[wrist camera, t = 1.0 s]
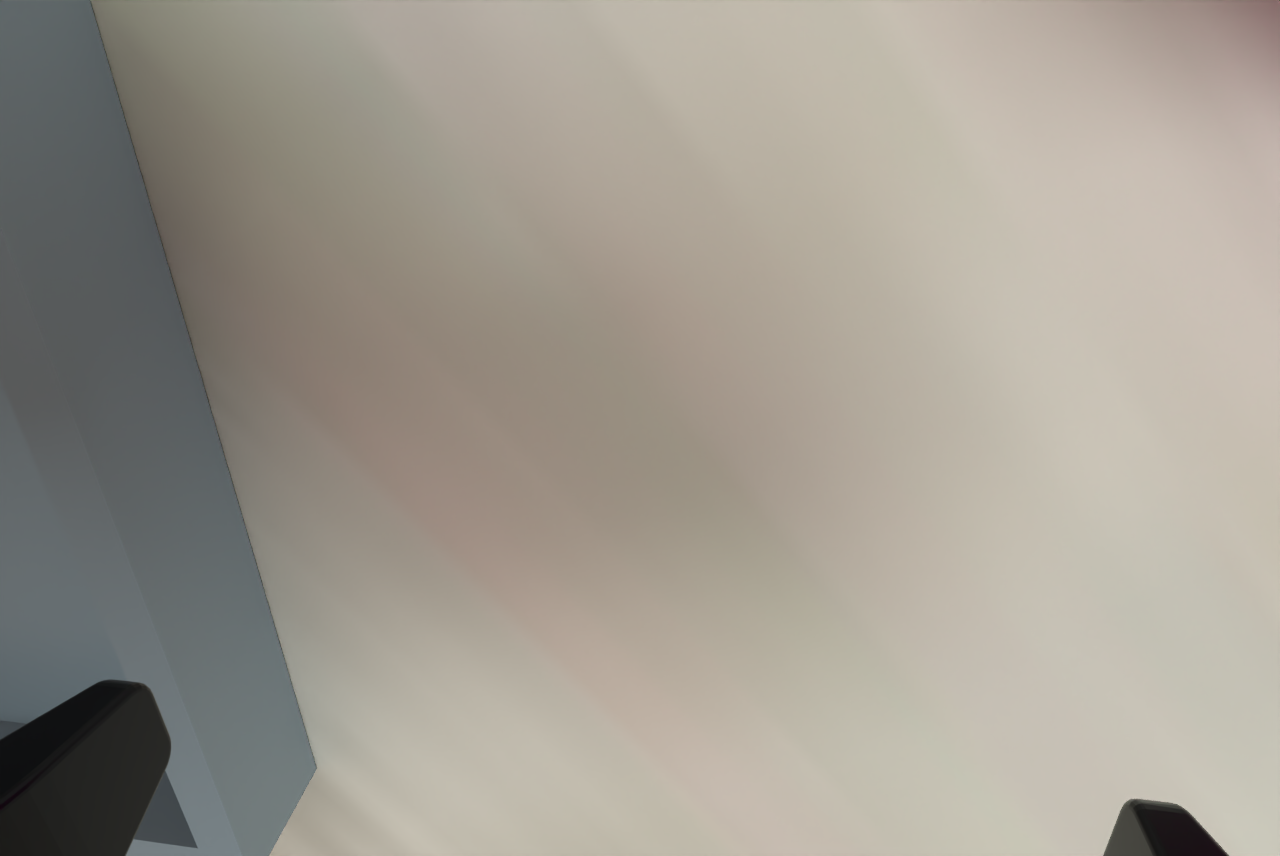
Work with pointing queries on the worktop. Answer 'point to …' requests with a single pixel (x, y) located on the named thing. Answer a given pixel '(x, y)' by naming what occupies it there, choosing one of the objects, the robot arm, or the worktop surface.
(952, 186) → the worktop surface
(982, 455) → the worktop surface
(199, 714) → the tray
